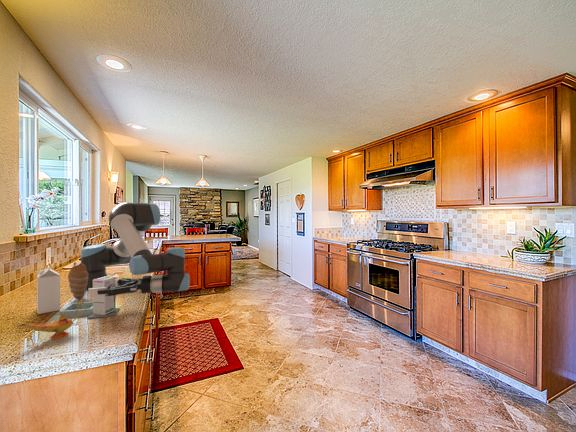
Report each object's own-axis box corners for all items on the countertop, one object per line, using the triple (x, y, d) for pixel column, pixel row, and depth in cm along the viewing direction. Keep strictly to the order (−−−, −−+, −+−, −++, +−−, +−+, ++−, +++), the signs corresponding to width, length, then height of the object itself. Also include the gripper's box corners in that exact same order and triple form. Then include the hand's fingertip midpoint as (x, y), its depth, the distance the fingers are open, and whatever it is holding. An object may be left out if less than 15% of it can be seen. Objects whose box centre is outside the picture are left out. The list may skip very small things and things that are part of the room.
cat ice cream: (63, 300, 130) (63, 263, 130) (80, 296, 137) (80, 260, 137) (77, 302, 127) (77, 264, 127) (93, 297, 135) (93, 261, 135)
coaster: (95, 311, 117) (95, 309, 117) (119, 309, 120) (119, 307, 120) (87, 318, 108) (87, 317, 108) (113, 316, 111) (113, 315, 111)
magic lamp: (14, 343, 87) (14, 309, 87) (82, 326, 101) (83, 296, 101) (17, 350, 83) (17, 314, 83) (88, 331, 97) (88, 300, 97)
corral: (71, 308, 119) (71, 303, 119) (100, 306, 122) (100, 301, 122) (59, 317, 109) (59, 311, 109) (90, 315, 112) (90, 309, 112)
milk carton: (58, 306, 122) (58, 264, 122) (60, 310, 117) (60, 266, 117) (36, 310, 117) (37, 266, 117) (37, 314, 112) (37, 268, 112)
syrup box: (104, 315, 111) (104, 279, 110) (92, 314, 112) (92, 278, 112) (115, 310, 116) (116, 276, 116) (104, 309, 117) (104, 275, 117)
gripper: (146, 301, 108) (82, 306, 101) (156, 285, 131) (105, 288, 125) (146, 282, 108) (82, 286, 101) (156, 269, 131) (105, 272, 125)
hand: (94, 287), depth 113 cm, fingers open, 13 cm apart
